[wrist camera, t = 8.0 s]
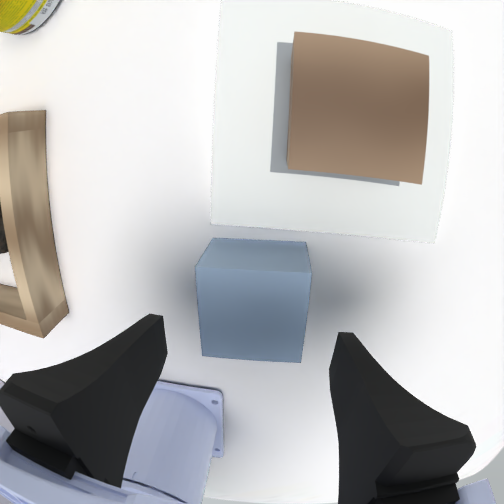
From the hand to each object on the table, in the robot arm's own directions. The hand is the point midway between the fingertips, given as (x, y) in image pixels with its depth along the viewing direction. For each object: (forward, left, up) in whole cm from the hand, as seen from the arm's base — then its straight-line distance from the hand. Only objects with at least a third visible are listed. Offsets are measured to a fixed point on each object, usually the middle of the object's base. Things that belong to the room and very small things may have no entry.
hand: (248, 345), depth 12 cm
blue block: (0, 0, -6) cm, 6 cm away
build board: (+9, -3, -6) cm, 12 cm away
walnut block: (+9, -3, -5) cm, 11 cm away
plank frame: (+3, +28, -6) cm, 29 cm away
